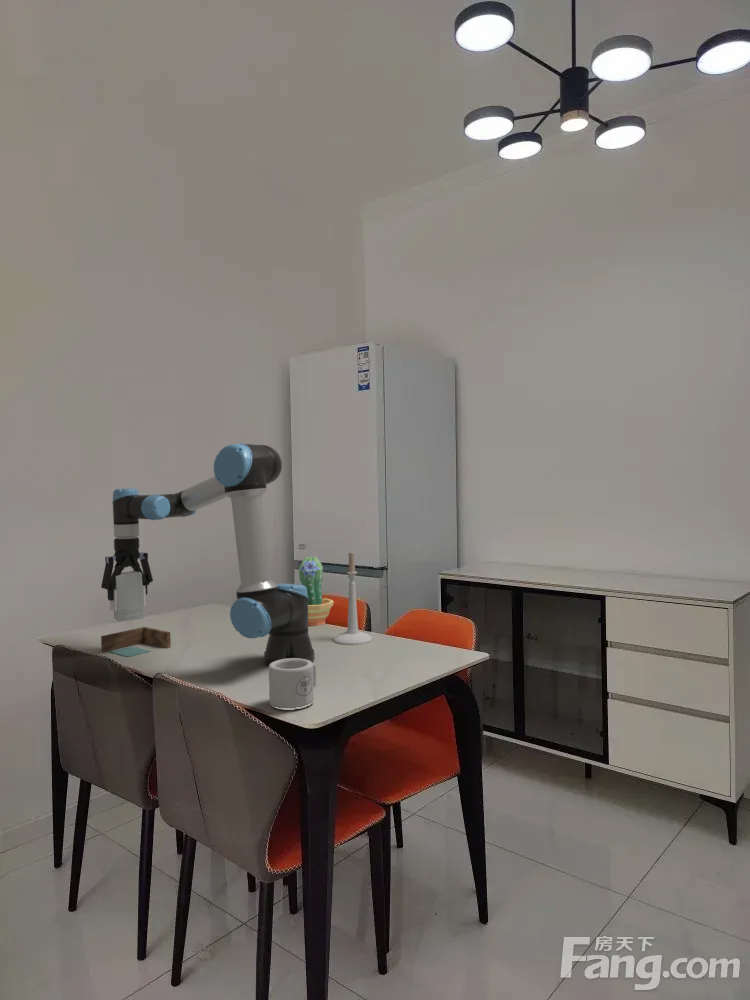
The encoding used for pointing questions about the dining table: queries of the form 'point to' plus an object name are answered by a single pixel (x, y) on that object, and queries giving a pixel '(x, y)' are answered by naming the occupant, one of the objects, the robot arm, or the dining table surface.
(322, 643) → the dining table surface
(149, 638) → the wooden corner bracket
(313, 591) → the potted cactus
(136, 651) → the pad
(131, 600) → the skincare box
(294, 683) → the mug
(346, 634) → the candlestick
